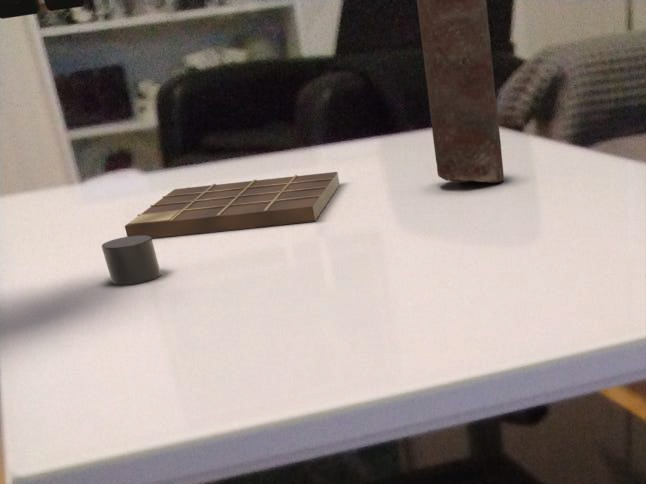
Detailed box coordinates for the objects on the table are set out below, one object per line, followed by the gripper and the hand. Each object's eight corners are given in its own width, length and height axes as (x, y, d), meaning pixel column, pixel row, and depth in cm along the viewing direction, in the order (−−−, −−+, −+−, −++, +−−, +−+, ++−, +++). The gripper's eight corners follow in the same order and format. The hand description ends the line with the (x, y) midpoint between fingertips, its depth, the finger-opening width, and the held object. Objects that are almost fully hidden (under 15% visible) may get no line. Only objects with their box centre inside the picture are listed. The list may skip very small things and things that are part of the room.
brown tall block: (454, 193, 111) (431, -25, 100) (426, 185, 116) (401, -22, 105) (515, 181, 113) (500, -34, 102) (485, 174, 119) (467, -31, 108)
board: (128, 240, 107) (123, 224, 106) (177, 202, 124) (173, 188, 123) (315, 221, 106) (312, 205, 105) (339, 185, 123) (337, 170, 122)
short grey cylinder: (105, 286, 91) (94, 249, 89) (120, 274, 95) (110, 238, 93) (153, 282, 91) (143, 244, 89) (166, 269, 94) (157, 233, 93)
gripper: (-42, -252, 77) (40, 12, 87) (-166, -295, 63) (-52, 27, 72) (53, -268, 76) (125, -1, 86) (-51, -315, 62) (50, 12, 72)
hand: (44, 12), depth 79 cm, fingers open, 9 cm apart
